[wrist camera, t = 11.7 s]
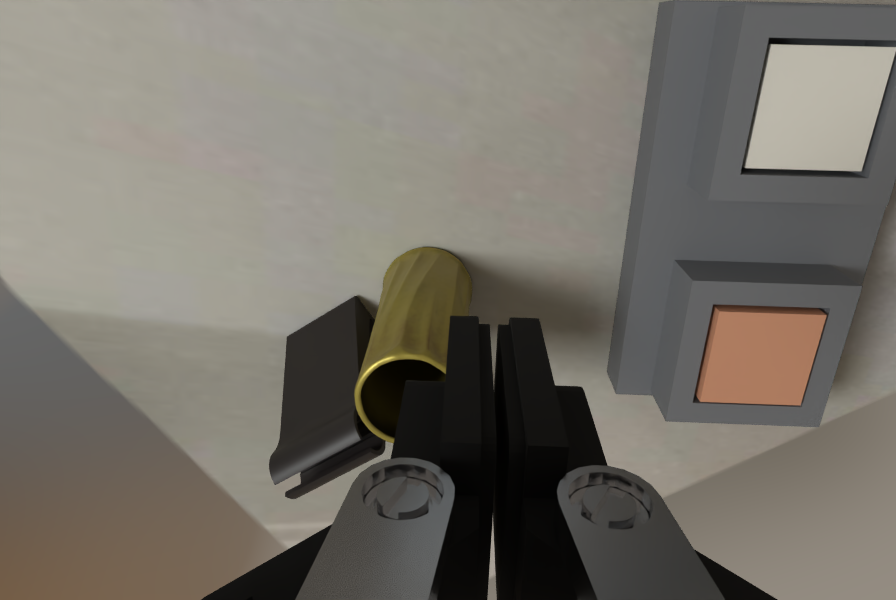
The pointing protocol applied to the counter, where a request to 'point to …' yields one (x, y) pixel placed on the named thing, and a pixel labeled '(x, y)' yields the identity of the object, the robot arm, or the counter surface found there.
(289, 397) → the phone stand
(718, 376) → the terracotta button
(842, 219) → the button panel
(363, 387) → the vase
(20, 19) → the counter surface
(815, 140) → the ivory button
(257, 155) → the counter surface
